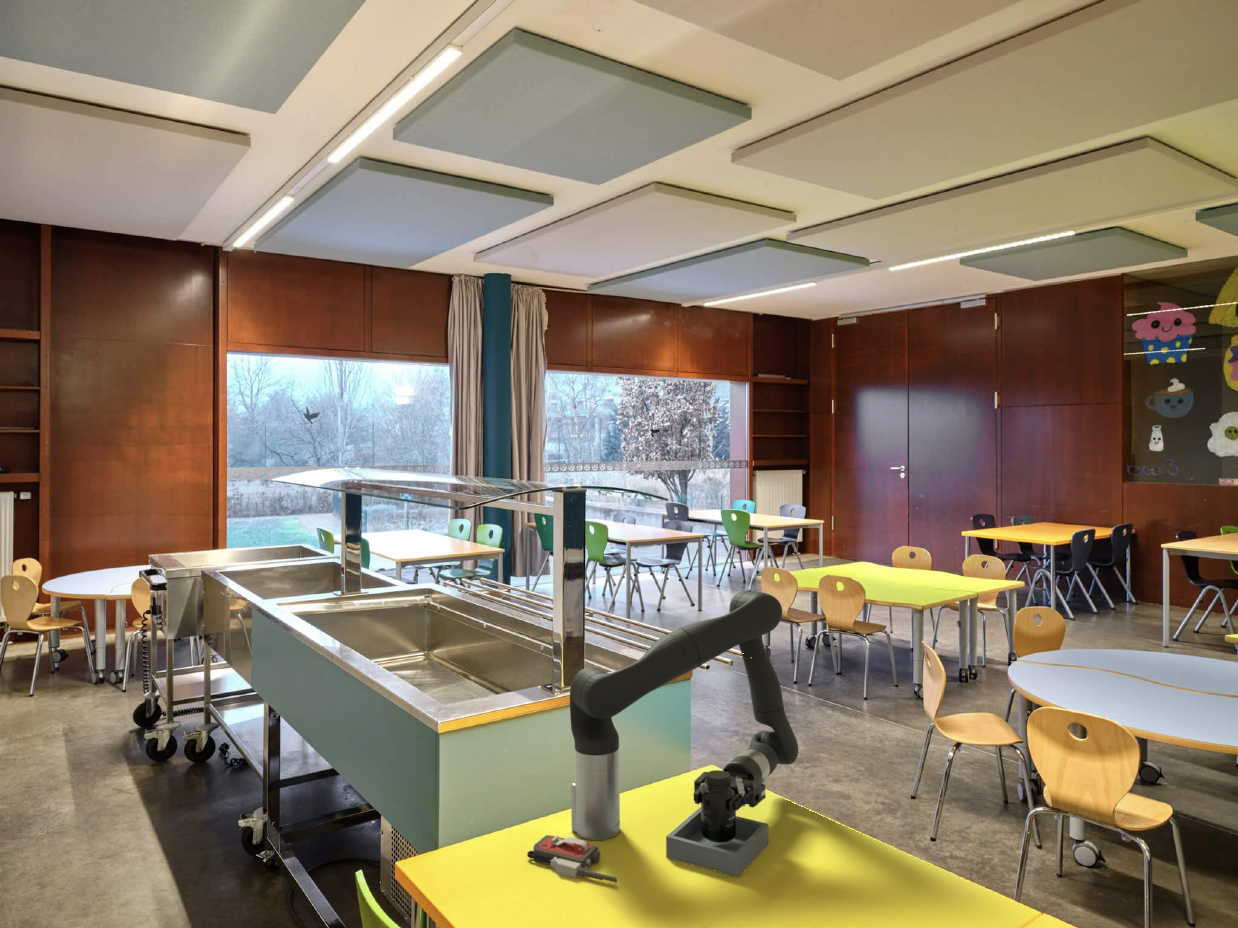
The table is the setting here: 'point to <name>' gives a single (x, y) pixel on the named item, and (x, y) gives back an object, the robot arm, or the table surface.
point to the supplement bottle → (717, 808)
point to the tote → (717, 845)
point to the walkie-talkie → (568, 856)
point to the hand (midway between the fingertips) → (713, 803)
